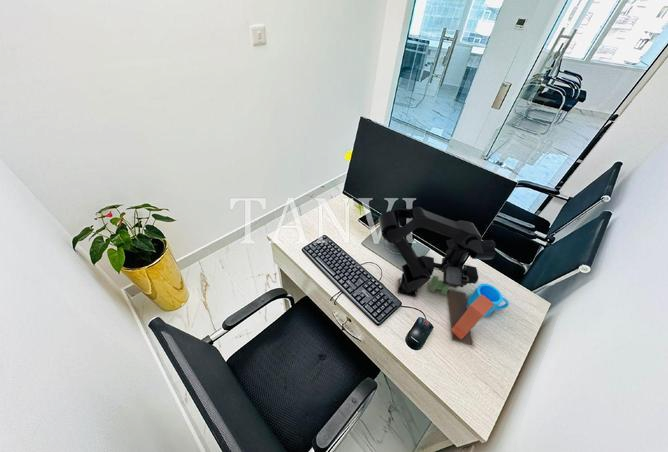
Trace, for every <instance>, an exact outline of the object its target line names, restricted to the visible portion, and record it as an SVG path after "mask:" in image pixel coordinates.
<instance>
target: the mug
mask: <svg viewBox="0 0 668 452" xmlns="http://www.w3.org/2000/svg"><path fill="white" fill-rule="evenodd" d="M481 294H482V295H484V296H485V297H486V298H488V299H489V300H490V301H492V302H493V303H494V305H493V306H492V307H491V308H490V309H489V310H488V311H487V313H486V314H485V315H484V316H483V317H488V316H490V315H491V314H492V313H493V312H494V310H503V309H506V308H508V307H509V306H510V302H509V300H508V299H507V298H505V297H504V296H503V295H502V292H501V291H500V290H499V289H498V288H497V287H495V285H494V286H493V285H492V284H489V283H480V284H478V286H477V287H476V288H475V289H474V291H473V292H472V293H471V295H470V296H469V297H468V299H467V307H469V306H470V305H471V304H472V303H473V302H474V301H475V300H476V299H477V298H478V297H479V296H480V295H481ZM502 302H505V303H504V304H502V305H500V304H501V303H502Z"/></svg>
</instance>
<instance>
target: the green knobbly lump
mask: <svg viewBox="0 0 668 452" xmlns="http://www.w3.org/2000/svg"><path fill="white" fill-rule="evenodd" d="M429 281H430V282H429V291H430V292H433V293H434V292H436V290H439V292H440V294H443V295H446V294H447V293H448V290H450V288H451V286H446V285H444V284H443V280H440V279H439V276H436V275H432V277H431V278H430V280H429Z"/></svg>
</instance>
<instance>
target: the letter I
mask: <svg viewBox="0 0 668 452" xmlns="http://www.w3.org/2000/svg"><path fill="white" fill-rule="evenodd" d="M493 305H494V303H493V302H492V301H490V300H489V299H488V298H486V297H485V296H484V295H482V294H481V295H480V296H479V297H478V298H477V299H476V300H475V301H474V302H473V303H472V304H471V305H470V306H468V307H467V311H466V312H465V313H464V314H463V316H462V317H461V318H460V319H459V321H458V322H457V323H456V324H455V326H454V327H453V328H452V329H450V332H451V333H452V332H453V333H454V334H455V335H456V336H457V337H458V338H460V339H461V340H462V339H463V337H464V336H465V335H466V334H467V333H468V332H469V331H472V329H473V328H474V327H475V326H476V325H477V323H479V322H480V320H481V319H482V318H483V317H485V316H484V315H485V314H486V313H487V311H488V310H489V309H490V308H491V307H492V306H493Z"/></svg>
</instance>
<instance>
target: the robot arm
mask: <svg viewBox="0 0 668 452" xmlns="http://www.w3.org/2000/svg"><path fill="white" fill-rule="evenodd" d="M399 219H410V220H409V222H407V223H406V224H404V225H403V226H401V223H400V220H399ZM377 221H378V224H379V229H380V233H381V236H382V238H383V239H384V240H385V241H386V242H388V244H392V245H394V247H395V248H396V250H397V251H398V253H399V254H400V256H401V257H402V259H403V260H404V262H405V264H402V265H401V270H402V274H401V276H400V278H399V279H398V282H397V293H398V294H400V295H404V296H408V297H411V298H412V297H413V298H416V294H417V293H418V291H419V289H421V288H422V287H424V285H426V284H427V283H428V282H429V281H430V280H431V278H432V277H431V276H433V273H434V270H435V271H438V272H441V273H443V274H442V275H443V276H442V281H443V284H444V285H446V286H450V288H454V289H456V288H460V287H461V288H464V287H465V286H467V285H468V284H470V285H471V284H474V285H475V284H477V283H478V281H479V273H478V269H477V267H476V266H472V265H468V264H464V262H465V260H466V259H467V257H468V256H469V257H470V258H471V259H472V260H493V259H494V258H495V256H496V246H497V244H496V242H495V241H494V240H493V239H488V240H487V239H486V240H484V239H483V237H482V235H481V234H480V231H478V229H477V227H476V226H475V224H474V223H473V222H471V221H467V220H458V221H455V220H452V219H450V218H447V217H444V216H443V215H439V214H437V213H434V212H431V211H428V210H425V209H424V208H423V207H421V206H415V207H411V208H401V207H400V208H398V207H397V208H395V209H392V210H391V209H390V210H388V211H385V212H383V213H381V214H380V215H379V217H378V219H377ZM419 228H423V229H427V230H429V231H433V232H435V233H438V234H441V235H443V236H447V237H449V238H451V239H448V240H446V241H445V243H446V245H447V247H448V249H446V251H445V256H444V257H442V258H441V263H439V262H435V258H434V257H432V256H427V255H421V256H418V255H417V254H416V252H415V250H414V249H413V247H412V246H411V244H410V242H409V240H408V239H407V237H406V236H408V235H410V234H411V233H412V232H414V231H415V230H417V229H419Z"/></svg>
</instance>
